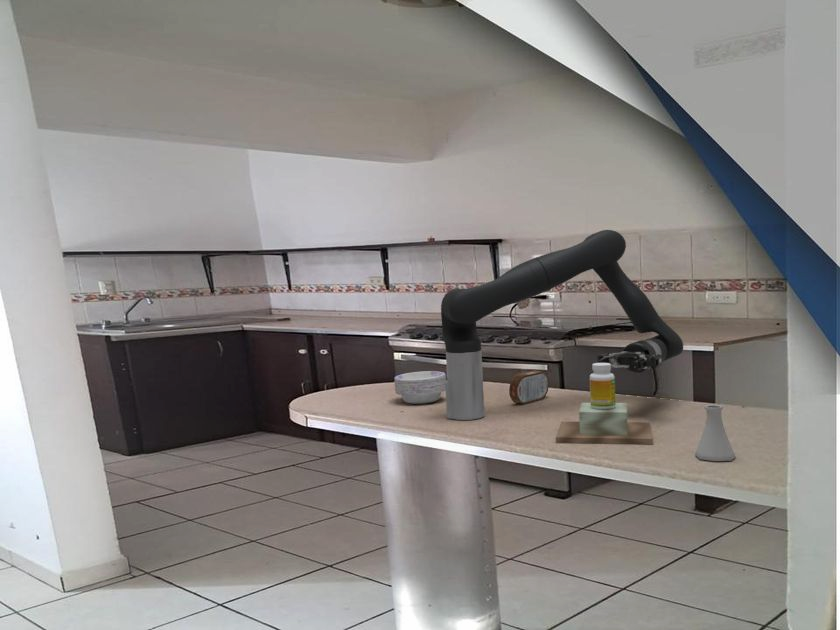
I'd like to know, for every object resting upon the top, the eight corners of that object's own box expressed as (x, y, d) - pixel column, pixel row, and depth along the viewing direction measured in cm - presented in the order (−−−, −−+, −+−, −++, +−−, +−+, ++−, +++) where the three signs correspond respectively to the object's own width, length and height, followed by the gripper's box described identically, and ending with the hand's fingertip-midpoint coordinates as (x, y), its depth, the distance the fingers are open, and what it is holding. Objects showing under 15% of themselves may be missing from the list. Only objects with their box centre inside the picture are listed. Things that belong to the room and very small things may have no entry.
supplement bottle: (616, 409, 153) (615, 365, 152) (591, 409, 154) (589, 366, 153) (614, 404, 158) (613, 361, 157) (590, 404, 159) (588, 362, 159)
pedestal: (555, 442, 152) (554, 414, 152) (561, 426, 166) (560, 400, 166) (653, 444, 146) (652, 415, 146) (650, 427, 161) (649, 400, 160)
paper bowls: (387, 400, 210) (386, 374, 210) (433, 394, 217) (432, 368, 216) (408, 408, 196) (406, 380, 196) (456, 401, 203) (455, 374, 202)
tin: (542, 396, 204) (541, 367, 203) (551, 397, 202) (550, 368, 201) (508, 405, 194) (507, 375, 193) (517, 406, 191) (516, 376, 191)
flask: (736, 463, 130) (735, 410, 130) (694, 461, 133) (693, 409, 132) (734, 453, 137) (733, 402, 136) (694, 451, 140) (693, 402, 139)
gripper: (613, 340, 181) (589, 347, 168) (670, 341, 172) (648, 349, 159) (614, 369, 181) (590, 379, 168) (671, 371, 173) (649, 382, 160)
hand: (618, 364), depth 164 cm, fingers open, 8 cm apart
